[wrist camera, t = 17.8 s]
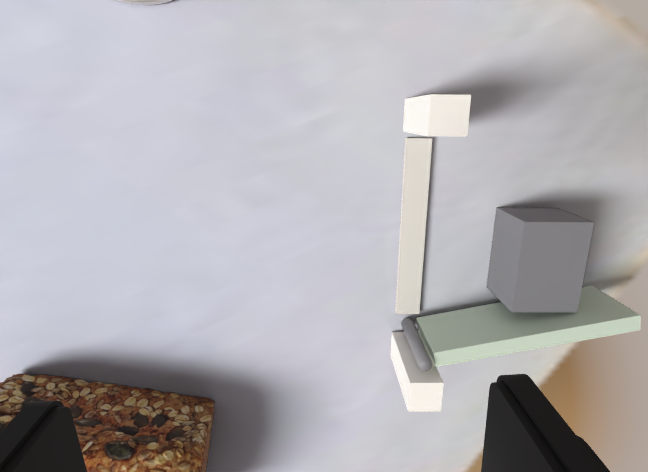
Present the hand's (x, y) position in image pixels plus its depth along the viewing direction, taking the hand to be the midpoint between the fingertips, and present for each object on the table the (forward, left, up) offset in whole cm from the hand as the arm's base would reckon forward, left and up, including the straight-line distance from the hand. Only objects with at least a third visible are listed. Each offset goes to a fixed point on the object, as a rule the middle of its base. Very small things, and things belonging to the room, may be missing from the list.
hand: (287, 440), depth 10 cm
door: (+9, +16, -26) cm, 31 cm away
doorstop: (+4, +18, -26) cm, 32 cm away
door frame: (+2, +9, -26) cm, 27 cm away
